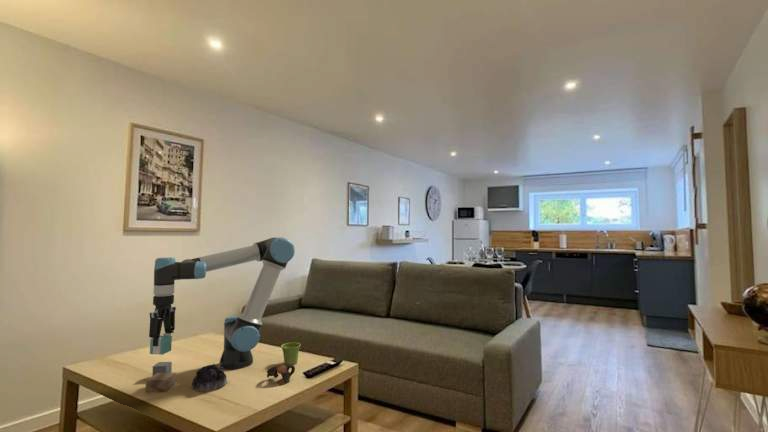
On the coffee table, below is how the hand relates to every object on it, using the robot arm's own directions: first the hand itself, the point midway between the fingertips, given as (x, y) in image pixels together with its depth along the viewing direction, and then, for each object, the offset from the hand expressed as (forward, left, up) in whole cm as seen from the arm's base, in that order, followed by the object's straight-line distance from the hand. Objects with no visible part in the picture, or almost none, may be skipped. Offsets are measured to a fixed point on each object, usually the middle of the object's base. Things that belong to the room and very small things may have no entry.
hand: (161, 351), depth 157 cm
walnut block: (0, 0, -15) cm, 15 cm away
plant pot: (-44, -33, -15) cm, 57 cm away
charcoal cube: (+7, -11, -15) cm, 20 cm away
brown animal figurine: (-47, -11, -15) cm, 50 cm away
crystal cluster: (-19, -4, -15) cm, 25 cm away
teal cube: (0, 0, 0) cm, 1 cm away
